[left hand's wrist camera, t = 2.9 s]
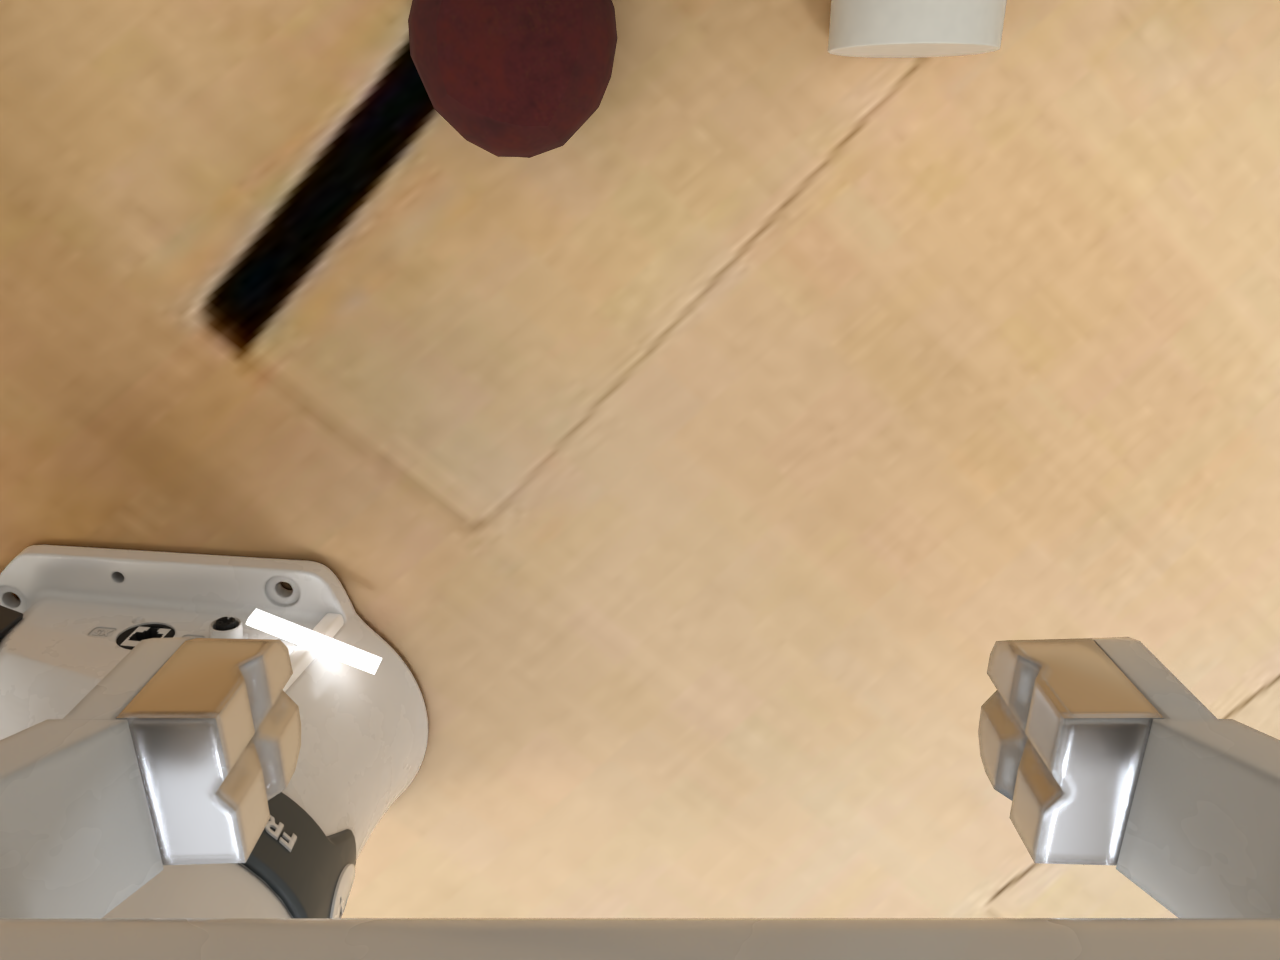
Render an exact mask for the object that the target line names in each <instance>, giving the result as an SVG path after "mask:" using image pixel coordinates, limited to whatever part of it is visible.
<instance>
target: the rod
mask: <svg viewBox="0 0 1280 960" xmlns="http://www.w3.org/2000/svg"><path fill="white" fill-rule="evenodd" d="M1006 1H1007V0H831V13H830V27H829V41H828V53H830V54H834V55H840V56H850V57H872V58H917V57H944V56H961V55H972V54H981V53H988V52H993V51H997V50H999V49H1000V46H1001V39H1002V31H1003V24H1004V16H1005V9H1006Z"/></svg>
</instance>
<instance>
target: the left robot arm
mask: <svg viewBox="0 0 1280 960" xmlns="http://www.w3.org/2000/svg"><path fill="white" fill-rule="evenodd" d="M280 582H287V583H289V584H290V585H291V586H292V589H293V590H286V589H285V588H283V587H282V585H281V583H280ZM13 593H14V594H16V595H17V596H18V597H19V598H20V600H18V599H17V598H15V597H14V595H13ZM987 674H988V676H989V677H990V679H991V680H992V682H993V684H994V685H995V687H996V688H997V691H996V692H995V693H994V694H993V695H992V696H991V697H990V698H989V699H988V700H987V701H986V702H985V703H984V704H983V705H982V706H981V714H980V722H979V730H978V733H979V744H980V755H981V759H982V762H983V765H984V769H985V772H986V774H987V776H988V778H989V780H990V782H991V784H992V786H993V788H994V789H995V790H997V791H998V792H1000V793H1001V794H1003V795H1004V796H1006V797H1007V798H1009V799H1010V800H1012V807H1011V812H1010V819H1011V821H1012V823H1013V825H1014V826H1015V828H1016V830H1017V832H1018V834H1019V835H1020V837H1021V839H1022V841H1023V843H1024V845H1025V846H1026V848H1027V850H1028V852H1029V854H1030V855H1031V857H1032V859H1033V861H1034V863H1052V864H1088V865H1117V866H1116V869H1117V870H1118V871H1119V872H1121V873H1122V874H1123V875H1124V876H1126V877H1127V878H1128V879H1129V880H1131V881H1132V882H1133V883H1135V884H1136V885H1137V886H1138V887H1140V888H1141V889H1142V890H1144V891H1145V892H1146V893H1147V894H1149V895H1150V896H1151V897H1152V898H1154V899H1155V900H1156V901H1158V902H1159V903H1160V904H1161V905H1163V906H1164V907H1165V908H1167V909H1168V910H1169V911H1170V912H1172V913H1173V914H1174V915H1175V916H1177V917H1178V918H818V919H629V918H628V919H624V918H341V917H342V915H343V912H344V909H345V906H346V903H347V900H348V897H349V895H350V892H351V889H352V885H353V882H354V877H355V864H356V860H357V858H358V856H359V854H360V853H361V851H362V849H363V847H364V846H365V844H366V842H367V840H368V839H369V837H370V835H371V834H372V832H373V831H374V829H375V827H376V826H377V824H378V823H379V821H380V820H381V818H382V817H383V816H384V814H385V813H386V811H387V810H388V809H389V807H390V806H391V805H392V804H393V803H394V802H395V800H396V799H397V798H398V797H399V796H400V795H401V794H402V793H403V792H404V791H405V790H406V789H407V787H408V786H409V785H410V784H411V782H412V781H413V779H414V778H415V776H416V774H417V773H418V771H419V769H420V767H421V765H422V762H423V759H424V756H425V752H426V748H427V743H428V716H427V711H426V706H425V702H424V699H423V696H422V693H421V690H420V688H419V686H418V684H417V682H416V680H415V678H414V676H413V674H412V673H411V671H410V670H409V668H408V667H407V665H406V664H405V662H404V661H403V660H402V658H401V657H400V656H399V655H398V654H397V652H396V651H395V650H394V649H393V648H392V647H391V646H390V645H389V644H388V643H387V642H386V641H385V640H384V639H382V638H381V637H380V636H379V635H378V634H377V633H376V632H375V631H373V630H372V629H371V628H370V627H369V626H368V625H367V624H366V623H365V622H364V621H363V620H362V619H361V618H360V617H359V616H358V614H357V613H356V611H355V609H354V607H353V605H352V603H351V601H350V599H349V597H348V595H347V593H346V591H345V589H344V588H343V586H342V584H341V582H340V581H339V579H338V578H337V576H336V575H335V574H334V573H333V572H332V571H331V570H330V569H329V568H328V567H326V566H325V565H323V564H321V563H318V562H314V561H306V560H289V559H273V558H257V557H240V556H224V555H208V554H191V553H175V552H159V551H142V550H126V549H110V548H93V547H77V546H60V545H32V546H28V547H27V548H25V549H24V550H23V551H22V552H20V553H19V554H18V555H17V556H16V557H15V558H14V559H13V560H12V561H11V562H10V563H9V564H8V565H7V566H6V567H5V569H4V570H3V571H2V572H1V574H0V960H1280V740H1278V739H1276V738H1273V737H1271V736H1269V735H1267V734H1264V733H1262V732H1260V731H1258V730H1255V729H1253V728H1251V727H1249V726H1246V725H1244V724H1242V723H1240V722H1237V721H1235V720H1233V719H1217V718H1216V717H1215V716H1214V715H1213V714H1212V713H1211V712H1210V711H1209V710H1208V709H1207V708H1206V707H1205V706H1204V705H1203V704H1202V703H1201V702H1200V701H1199V700H1198V699H1197V698H1196V697H1195V696H1194V695H1193V694H1192V693H1191V692H1190V691H1189V690H1188V689H1187V688H1186V687H1185V686H1184V685H1183V684H1182V683H1181V682H1180V681H1179V680H1178V679H1177V678H1176V677H1175V676H1174V675H1173V674H1172V673H1171V672H1170V671H1169V670H1168V669H1167V668H1166V667H1165V666H1164V665H1163V664H1162V663H1161V662H1160V661H1159V660H1158V659H1157V658H1156V657H1155V656H1154V655H1153V654H1152V653H1151V652H1150V651H1149V650H1148V649H1147V648H1146V647H1145V646H1144V645H1143V644H1142V643H1141V642H1140V641H1138V640H1135V639H1132V638H1130V637H1115V638H1088V639H1048V640H1008V641H996V643H995V645H994V647H993V649H992V651H991V654H990V658H989V664H988V670H987Z"/></svg>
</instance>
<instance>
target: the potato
mask: <svg viewBox="0 0 1280 960" xmlns="http://www.w3.org/2000/svg"><path fill="white" fill-rule="evenodd" d="M408 23H409V39H410V55H411V57H412V60H413V62H414V64H415V66H416V69H417V71H418V73H419V75H420V78H421V80H422V82H423V84H424V87H425V89H426V91H427V93H428V96H429V98H430V100H431V102H432V105H433V107H434V109H435V110H436V111H437V112H438V113H439V114H440V115H441V116H442V117H443V118H444V119H445V120H446V121H447V122H449V123H450V124H451V125H452V126H453V127H454V128H455V129H456V130H457V131H458V132H459V133H460V134H461V135H462V136H463V137H464V138H465V139H466V140H467V141H469V142H471V143H473V144H475V145H477V146H479V147H481V148H483V149H484V150H486V151H488V152H490V153H492V154H494V155H496V156H499V157H527V158H530V157H533V156H535V155H538V154H541V153H544V152H546V151H549V150H552V149H555V148H557V147H560V146H563V145H564V144H565V143H566V142H567V141H568V140H569V139H570V138H571V136H572V135H573V134H574V133H575V132H576V131H577V130H578V129H579V128H580V127H581V126H582V125H583V124H584V123H585V121H586V120H587V119H588V118H589V117H590V116H591V115H592V114H593V113H594V112H595V111H596V109H597V108H598V107H599V105H600V103H601V100H602V98H603V95H604V93H605V90H606V88H607V85H608V83H609V80H610V78H611V73H612V67H613V61H614V55H615V49H616V43H617V31H616V21H615V10H614V6H613V3H612V0H413V1H412V6H411V10H410V15H409V19H408Z"/></svg>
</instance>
